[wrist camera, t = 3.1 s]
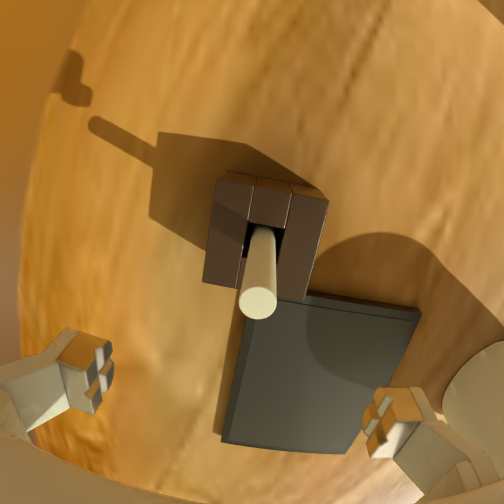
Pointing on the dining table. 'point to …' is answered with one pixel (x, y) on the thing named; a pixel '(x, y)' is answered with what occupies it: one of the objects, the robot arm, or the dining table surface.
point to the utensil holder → (480, 403)
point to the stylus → (260, 275)
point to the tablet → (314, 371)
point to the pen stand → (271, 214)
